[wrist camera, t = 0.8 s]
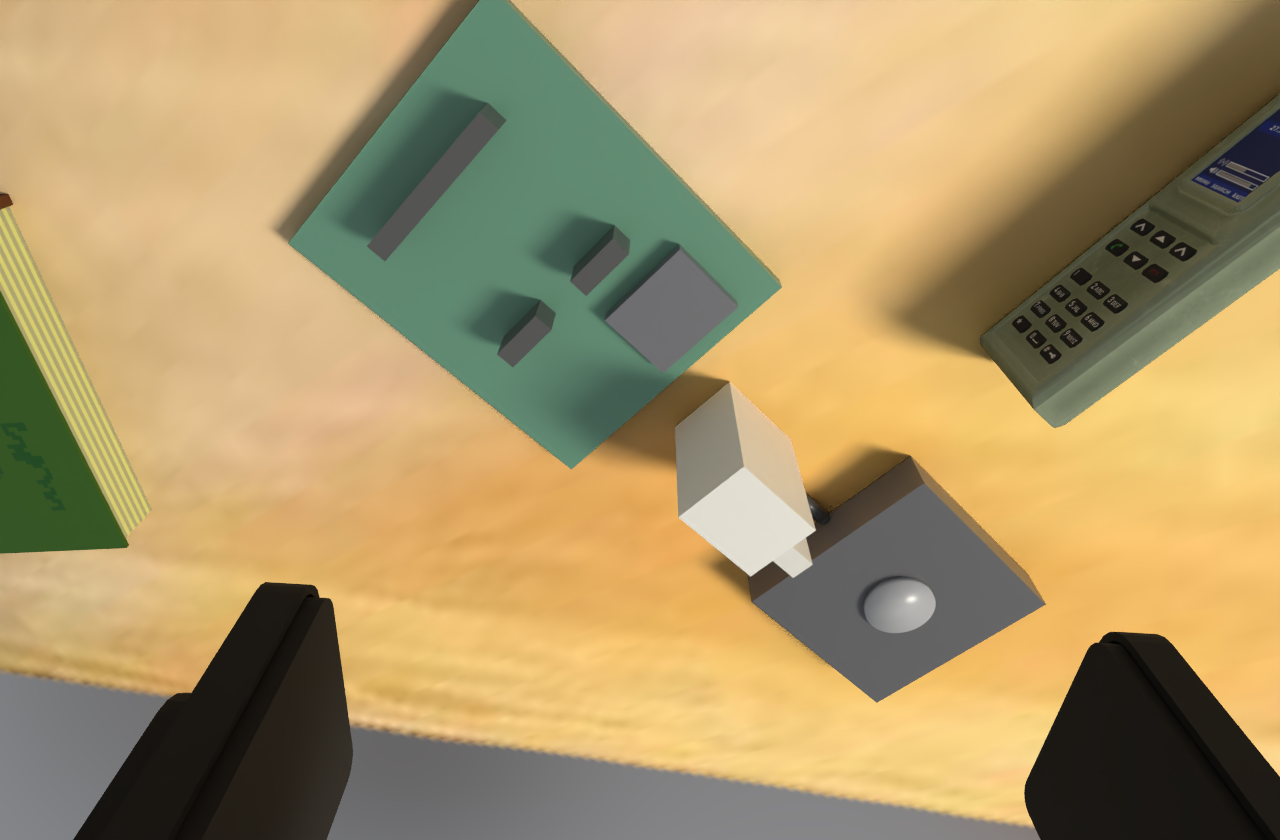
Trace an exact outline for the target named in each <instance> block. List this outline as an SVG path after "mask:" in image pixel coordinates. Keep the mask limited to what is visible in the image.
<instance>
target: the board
mask: <svg viewBox="0 0 1280 840" xmlns="http://www.w3.org/2000/svg"><path fill="white" fill-rule="evenodd" d="M288 244H290V245H291V246H292V247H293V248H295V249H296V250H297V251H298V252H300V253H301V254H302V255H303V256H305V257H306V258H307V259H308V260H310V261H311V262H312V263H313V264H315V265H316V266H317V267H318V268H320V269H321V270H322V271H323V272H325V273H326V274H327V275H328V276H330V277H331V278H332V279H333V280H335V281H336V282H337V283H338V284H340V285H341V286H342V287H343V288H345V289H346V290H347V291H348V292H350V293H351V294H352V295H353V296H355V297H356V298H357V299H358V300H360V301H361V302H362V303H364V304H365V305H366V306H367V307H369V308H370V309H371V310H372V311H374V312H375V313H376V314H377V315H379V316H380V317H381V318H382V319H384V320H385V321H386V322H387V323H389V324H390V325H391V326H392V327H394V328H395V329H396V330H397V331H399V332H400V333H401V334H402V335H404V336H405V337H406V338H407V339H409V340H410V341H411V342H412V343H414V344H415V345H416V346H417V347H419V348H420V349H421V350H422V351H424V352H425V353H426V354H427V355H429V356H430V357H431V358H432V359H434V360H435V361H436V362H437V363H439V364H440V365H441V366H442V367H444V368H445V369H446V370H447V371H449V372H450V373H451V374H452V375H454V376H455V377H456V378H458V379H459V380H460V381H461V382H463V383H464V384H465V385H466V386H468V387H469V388H470V389H471V390H473V391H474V392H475V393H476V394H478V395H479V396H480V397H481V398H483V399H484V400H485V401H486V402H488V403H489V404H490V405H491V406H493V407H494V408H495V409H496V410H498V411H499V412H500V413H501V414H503V415H504V416H505V417H506V418H508V419H509V420H510V421H511V422H513V423H514V424H515V425H516V426H518V427H519V428H520V429H521V430H523V431H524V432H525V433H526V434H528V435H529V436H530V437H531V438H533V439H534V440H535V441H536V442H538V443H539V444H540V445H541V446H543V447H544V448H545V449H546V450H548V451H549V452H550V453H552V454H553V455H554V456H555V457H557V458H558V459H559V460H560V461H562V462H563V463H564V464H565V465H567V466H568V467H569V468H570V469H572V468H574V467H575V466H576V465H577V464H578V463H579V462H581V461H582V460H583V459H584V458H585V457H586V456H587V455H589V454H590V453H591V452H592V451H593V450H594V449H596V448H597V447H598V446H599V445H600V444H601V443H602V442H604V441H605V440H606V439H607V438H608V437H609V436H611V435H612V434H613V433H614V432H615V431H616V430H617V429H619V428H620V427H621V426H622V425H623V424H624V423H626V422H627V421H628V420H629V419H630V418H631V417H633V416H634V415H635V414H636V413H637V412H638V411H639V410H641V409H642V408H643V407H644V406H645V405H646V404H648V403H649V402H650V401H651V400H652V399H653V398H654V397H656V396H657V395H658V394H659V393H660V392H661V391H663V390H664V389H665V388H666V387H667V386H668V385H669V384H671V383H672V382H673V381H674V380H675V379H676V378H678V377H679V376H680V375H681V374H682V373H683V372H684V371H686V370H687V369H688V368H689V367H690V366H691V365H693V364H694V363H695V362H696V361H697V360H698V359H700V358H701V357H702V356H703V355H704V354H705V353H706V352H708V351H709V350H710V349H711V348H712V347H713V346H715V345H716V344H717V343H718V342H719V341H720V340H721V339H723V338H724V337H725V336H726V335H727V334H728V333H730V332H731V331H732V330H733V329H734V328H735V327H736V326H738V325H739V324H740V323H741V322H742V321H743V320H745V319H746V318H747V317H748V316H749V315H750V314H751V313H753V312H754V311H755V310H756V309H757V308H758V307H760V306H761V305H762V304H763V303H764V302H765V301H767V300H768V299H769V298H770V297H771V296H772V295H773V294H775V293H776V292H777V291H778V290H779V289H780V288H782V286H781V283H780V281H779V279H778V278H777V277H776V276H775V275H774V274H773V273H772V272H771V271H770V270H769V269H768V268H767V267H766V266H765V265H764V263H763V262H762V261H761V260H760V259H759V258H758V257H757V256H756V255H755V254H754V253H753V252H752V251H751V250H750V249H749V248H748V247H747V246H746V245H745V244H744V243H743V242H742V241H741V240H740V239H739V238H738V237H737V235H736V234H735V233H734V232H733V231H732V230H731V229H730V228H729V227H728V226H727V225H726V224H725V223H724V222H723V221H722V220H721V219H720V218H719V217H718V216H717V215H716V214H715V213H714V212H713V211H712V210H711V209H710V207H709V206H708V205H707V204H706V203H705V202H704V201H703V200H702V199H701V198H700V197H699V196H698V195H697V194H696V193H695V192H694V191H693V190H692V189H691V188H690V187H689V186H688V185H687V184H686V183H685V182H684V181H683V179H682V178H681V177H680V176H679V175H678V174H677V173H676V172H675V171H674V170H673V169H672V168H671V167H670V166H669V165H668V164H667V163H666V162H665V161H664V160H663V159H662V158H661V157H660V156H659V155H658V154H657V152H656V151H655V150H654V149H653V148H652V147H651V146H650V145H649V144H648V143H647V142H646V141H645V140H644V139H643V138H642V137H641V136H640V135H639V134H638V133H637V132H636V131H635V130H634V129H633V128H632V127H631V126H630V124H629V123H628V122H627V121H626V120H625V119H624V118H623V117H622V116H621V115H620V114H619V113H618V112H617V111H616V110H615V109H614V108H613V107H612V106H611V105H610V104H609V103H608V102H607V101H606V100H605V99H604V98H603V96H602V95H601V94H600V93H599V92H598V91H597V90H596V89H595V88H594V87H593V86H592V85H591V84H590V83H589V82H588V81H587V80H586V79H585V78H584V77H583V76H582V75H581V74H580V73H579V72H578V71H577V70H576V68H575V67H574V66H573V65H572V64H571V63H570V62H569V61H568V60H567V59H566V58H565V57H564V56H563V55H562V54H561V53H560V52H559V51H558V50H557V49H556V48H555V47H554V46H553V45H552V44H551V43H550V42H549V40H548V39H547V38H546V37H545V36H544V35H543V34H542V33H541V32H540V31H539V30H538V29H537V28H536V27H535V26H534V25H533V24H532V23H531V22H530V21H529V20H528V19H527V18H526V17H525V16H524V15H523V14H522V12H521V11H520V10H519V9H518V8H517V7H516V6H515V5H514V4H513V3H512V2H511V1H510V0H479V2H478V3H477V4H476V5H475V7H474V8H473V9H472V11H471V12H470V13H469V14H468V16H467V17H466V18H465V19H464V21H463V22H462V23H461V25H460V26H459V27H458V28H457V30H456V31H455V32H454V33H453V35H452V36H451V37H450V38H449V40H448V41H447V42H446V44H445V45H444V46H443V47H442V49H441V50H440V51H439V52H438V54H437V55H436V56H435V58H434V59H433V60H432V61H431V63H430V64H429V65H428V66H427V68H426V69H425V70H424V72H423V73H422V74H421V75H420V77H419V78H418V79H417V80H416V82H415V83H414V84H413V86H412V87H411V88H410V89H409V91H408V92H407V93H406V94H405V96H404V97H403V98H402V99H401V101H400V102H399V103H398V105H397V106H396V107H395V108H394V110H393V111H392V112H391V113H390V115H389V116H388V117H387V119H386V120H385V121H384V122H383V124H382V125H381V126H380V127H379V129H378V130H377V131H376V133H375V134H374V135H373V136H372V138H371V139H370V140H369V141H368V143H367V144H366V145H365V147H364V148H363V149H362V150H361V152H360V153H359V154H358V155H357V157H356V158H355V159H354V160H353V162H352V163H351V164H350V166H349V167H348V168H347V169H346V171H345V172H344V173H343V174H342V176H341V177H340V178H339V180H338V181H337V182H336V183H335V185H334V186H333V187H332V188H331V190H330V191H329V192H328V194H327V195H326V196H325V197H324V199H323V200H322V201H321V202H320V204H319V205H318V206H317V208H316V209H315V210H314V211H313V213H312V214H311V215H310V216H309V218H308V219H307V220H306V221H305V223H304V224H303V225H302V227H301V228H300V229H299V230H298V232H297V233H296V234H295V235H294V237H293V238H292V239H291V241H290V242H289V243H288Z"/></svg>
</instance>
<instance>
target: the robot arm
mask: <svg viewBox="0 0 1280 840" xmlns="http://www.w3.org/2000/svg"><path fill="white" fill-rule="evenodd" d="M352 757H353V749H352V739H351V733H350V725H349V718H348V710H347V703H346V696H345V688H344V681H343V674H342V666H341V659H340V652H339V645H338V637H337V630H336V623H335V615H334V608H333V604H332V601H331V599H329V598H319V594H318V590H317V589H316V587H315V586H313V585H304V584H287V583H270V582H265V583H263V584H262V585H260V587H259V588H258V589H257V590H256V592H255V593H254V595H253V596H252V598H251V600H250V601H249V603H248V604H247V606H246V607H245V609H244V611H243V612H242V614H241V615H240V617H239V619H238V620H237V622H236V623H235V625H234V627H233V628H232V630H231V631H230V633H229V634H228V636H227V638H226V639H225V641H224V642H223V644H222V646H221V647H220V649H219V650H218V652H217V653H216V655H215V657H214V658H213V660H212V661H211V663H210V665H209V666H208V668H207V669H206V671H205V673H204V674H203V676H202V677H201V679H200V680H199V682H198V684H197V685H196V687H195V688H194V690H193V692H192V693H177V694H176V695H174V696H173V697H171V698H170V699H168V700H167V701H166V702H165V704H164V705H163V706H162V707H161V708H160V710H159V711H158V712H157V714H156V715H155V717H154V718H153V720H152V721H151V723H150V724H149V726H148V727H147V729H146V730H145V732H144V733H143V735H142V736H141V738H140V739H139V741H138V742H137V744H136V745H135V747H134V748H133V750H132V751H131V753H130V755H129V756H128V758H127V759H126V761H125V762H124V764H123V765H122V767H121V768H120V770H119V771H118V773H117V774H116V776H115V777H114V779H113V780H112V782H111V783H110V785H109V786H108V788H107V789H106V791H105V792H104V794H103V795H102V797H101V798H100V800H99V801H98V803H97V804H96V806H95V808H94V809H93V811H92V812H91V814H90V815H89V817H88V818H87V820H86V821H85V823H84V824H83V826H82V827H81V829H80V830H79V832H78V833H77V835H76V836H75V838H74V839H73V840H326V839H327V837H328V834H329V831H330V828H331V825H332V823H333V820H334V817H335V814H336V812H337V809H338V806H339V803H340V801H341V798H342V795H343V793H344V790H345V787H346V784H347V782H348V778H349V775H350V770H351V765H352ZM1024 794H1025V803H1026V807H1027V811H1028V813H1029V816H1030V818H1031V820H1032V822H1033V824H1034V826H1035V829H1036V831H1037V833H1038V835H1039V837H1040V839H1041V840H1280V777H1279V775H1278V774H1277V773H1276V772H1275V771H1274V769H1273V768H1272V767H1271V766H1270V764H1269V763H1268V762H1267V761H1266V759H1265V758H1264V757H1263V756H1262V754H1261V753H1260V752H1259V751H1258V750H1257V748H1256V747H1255V746H1254V745H1253V743H1252V742H1251V741H1250V740H1249V738H1248V737H1247V736H1246V735H1245V734H1244V732H1243V731H1242V730H1241V729H1240V727H1239V726H1238V725H1237V724H1236V722H1235V721H1234V720H1233V719H1232V717H1231V716H1230V715H1229V714H1228V713H1227V711H1226V710H1225V709H1224V708H1223V706H1222V705H1221V704H1220V703H1219V701H1218V700H1217V699H1216V698H1215V697H1214V695H1213V694H1212V693H1211V692H1210V690H1209V689H1208V688H1207V687H1206V685H1205V684H1204V683H1203V682H1202V680H1201V679H1200V678H1199V677H1198V676H1197V674H1196V673H1195V672H1194V671H1193V669H1192V668H1191V667H1190V666H1189V664H1188V663H1187V662H1186V661H1185V660H1184V658H1183V657H1182V656H1181V655H1180V653H1179V652H1178V651H1177V650H1176V648H1175V647H1174V646H1173V645H1172V644H1171V643H1170V642H1169V641H1168V640H1167V639H1166V638H1165V637H1163V636H1160V635H1158V634H1143V633H1126V632H1109V633H1107V634H1106V635H1104V636H1103V637H1102V639H1101V640H1100V642H1099V643H1094V644H1092V645H1091V646H1090V647H1089V649H1088V650H1087V652H1086V655H1085V657H1084V659H1083V661H1082V663H1081V665H1080V667H1079V670H1078V672H1077V674H1076V676H1075V678H1074V680H1073V682H1072V685H1071V687H1070V689H1069V691H1068V693H1067V695H1066V697H1065V700H1064V702H1063V704H1062V706H1061V708H1060V710H1059V712H1058V715H1057V717H1056V719H1055V721H1054V723H1053V725H1052V727H1051V730H1050V732H1049V734H1048V736H1047V738H1046V740H1045V742H1044V745H1043V747H1042V749H1041V751H1040V753H1039V755H1038V757H1037V760H1036V762H1035V764H1034V766H1033V768H1032V770H1031V772H1030V775H1029V777H1028V779H1027V781H1026V784H1025V792H1024Z"/></svg>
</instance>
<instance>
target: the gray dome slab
mask: <svg viewBox="0 0 1280 840" xmlns="http://www.w3.org/2000/svg"><path fill="white" fill-rule="evenodd" d="M806 496H807V500H808V503H809V507H810V511H811V514H812V518H813V519H814V520H816V521H817V523H815V524H814V525H815V529H816V531H814V532H813V533H812V534H810V535H809V536H807V537H806V540H807V544H808V548H809V552H810V556H811V560H812V564H813V565H811V566H810V567H809V568H807V569H806V570H804V571H803V572H801V573H800V574H798V575H797V576H795V577H794V578H793V577H791V576H790V575H789V574H788V573H787V572H785V571H784V570H783V569H782V568H781V567H780V566H778V565H777V564H776V563H775V562H774V561H772V562H770V563H769V564H768V565H766V566H765V567H763V568H762V569H761V570H759V571H758V572H756V573H755V574H753V575H752V576H751V577H750V576H749V575H748V580H749V587H750V594H751V601H752V602H753V603H754V604H755V605H756V606H757V607H759V608H760V609H761V610H762V611H764V612H765V613H766V614H767V615H769V616H770V617H771V618H772V619H774V620H775V621H776V622H777V623H779V624H780V625H781V626H782V627H784V628H785V629H786V630H787V631H789V632H790V633H791V634H792V635H793V636H795V637H796V638H797V639H798V640H800V641H801V642H802V643H803V644H805V645H806V646H807V647H808V648H810V649H811V650H812V651H813V652H815V653H816V654H817V655H818V656H820V657H821V658H822V659H823V660H825V661H826V662H827V663H828V664H829V665H831V666H832V667H833V668H834V669H836V670H837V671H838V672H839V673H841V674H842V675H843V676H844V677H846V678H847V679H848V680H849V681H851V682H852V683H853V684H854V685H856V686H857V687H858V688H859V689H861V690H862V691H863V692H864V693H865V694H867V695H868V696H869V697H870V698H872V699H873V700H874V701H875V702H879V701H880V700H882V699H884V698H886V697H887V696H889V695H891V694H893V693H894V692H896V691H898V690H899V689H901V688H903V687H905V686H906V685H908V684H910V683H911V682H913V681H915V680H917V679H918V678H920V677H922V676H923V675H925V674H927V673H929V672H930V671H932V670H934V669H936V668H937V667H939V666H941V665H942V664H944V663H946V662H948V661H949V660H951V659H953V658H954V657H956V656H958V655H960V654H961V653H963V652H965V651H966V650H968V649H970V648H972V647H973V646H975V645H977V644H978V643H980V642H982V641H984V640H985V639H987V638H989V637H991V636H992V635H994V634H996V633H997V632H999V631H1001V630H1003V629H1004V628H1006V627H1008V626H1009V625H1011V624H1013V623H1015V622H1016V621H1018V620H1020V619H1021V618H1023V617H1025V616H1027V615H1028V614H1030V613H1032V612H1034V611H1035V610H1037V609H1039V608H1040V607H1042V606H1044V605H1046V604H1045V602H1044V600H1043V599H1042V597H1041V595H1040V594H1039V592H1038V590H1037V589H1036V587H1035V585H1034V584H1033V582H1032V580H1031V578H1030V577H1029V575H1028V574H1027V573H1026V572H1025V571H1024V570H1023V569H1022V568H1021V567H1020V566H1019V565H1018V564H1017V563H1016V562H1015V561H1014V560H1013V559H1012V558H1011V556H1010V555H1009V554H1008V553H1007V552H1006V551H1005V550H1004V549H1003V548H1002V547H1001V546H1000V545H999V544H998V543H997V542H996V541H995V540H994V539H993V538H992V537H991V536H990V535H989V534H988V533H987V532H986V531H985V530H984V529H983V528H982V527H981V526H980V525H979V524H978V523H977V522H976V521H975V520H974V519H973V518H972V517H971V516H970V515H969V514H968V513H967V512H966V511H965V510H964V509H963V508H962V507H961V506H960V505H959V504H958V503H957V502H956V501H955V500H954V499H953V498H952V497H951V496H950V495H949V494H948V493H947V492H946V491H945V490H944V489H943V488H942V487H941V486H940V485H939V484H938V483H937V482H936V481H935V480H934V479H933V478H932V477H931V476H930V475H929V474H928V473H927V472H926V471H925V470H924V469H923V468H922V467H921V466H920V465H919V464H918V463H917V462H916V461H915V460H914V459H913V458H912V457H911V456H910V457H908V458H907V459H906V460H904V461H903V462H901V463H900V464H899V465H897V466H896V467H894V468H893V469H892V470H890V471H889V472H887V473H886V474H884V475H883V476H882V477H880V478H879V479H877V480H876V481H875V482H873V483H872V484H870V485H869V486H868V487H866V488H865V489H863V490H862V491H860V492H859V493H858V494H856V495H855V496H853V497H852V498H851V499H849V500H848V501H846V502H845V503H844V504H842V505H841V506H839V507H838V508H836V509H835V510H834V511H832V512H831V513H829V514H828V513H827V512H826V511H825V510H824V509H823V508H822V507H821V506H820V505H819V504H818V503H816V502H815V501H814V500H813V499H812V498H811V497H810V496H809V495H808V494H807V493H806Z"/></svg>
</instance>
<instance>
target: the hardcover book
mask: <svg viewBox="0 0 1280 840" xmlns="http://www.w3.org/2000/svg"><path fill="white" fill-rule="evenodd" d="M11 205H13V203H12V201H11V199H10V197H9V194H1V195H0V553H22V552H45V551H67V550H90V549H113V548H127V547H128V546H129V544H128V542H127V540H126V538H127V536H128V535H129V534H130V533H131V532H132V531H133V530H134V529H135V528H136V526H137V525H138V524H139V523H140V522H141V521H142V520H143V519H144V517H145V516H146V515H147V514H148V513H149V512H150V511H151V510H152V508H151V506H150V504H149V502H148V500H147V498H146V496H145V494H144V491H143V489H142V487H141V485H140V483H139V481H138V479H137V477H136V475H135V472H134V470H133V468H132V466H131V464H130V462H129V460H128V458H127V455H126V453H125V451H124V449H123V447H122V445H121V443H120V441H119V439H118V436H117V434H116V432H115V430H114V428H113V426H112V424H111V422H110V419H109V417H108V415H107V413H106V411H105V409H104V407H103V405H102V403H101V400H100V398H99V396H98V394H97V392H96V390H95V388H94V386H93V383H92V381H91V379H90V377H89V375H88V373H87V371H86V369H85V367H84V364H83V362H82V360H81V358H80V356H79V354H78V352H77V350H76V347H75V345H74V343H73V341H72V339H71V337H70V335H69V333H68V331H67V328H66V326H65V324H64V322H63V320H62V318H61V316H60V314H59V311H58V309H57V307H56V305H55V303H54V301H53V299H52V297H51V295H50V292H49V290H48V288H47V286H46V284H45V282H44V280H43V278H42V275H41V273H40V271H39V269H38V267H37V265H36V263H35V261H34V259H33V256H32V254H31V252H30V250H29V248H28V246H27V244H26V242H25V239H24V237H23V235H22V233H21V231H20V229H19V227H18V225H17V223H16V220H15V218H14V216H13V214H12V212H11V210H10V208H9V206H11Z"/></svg>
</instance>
